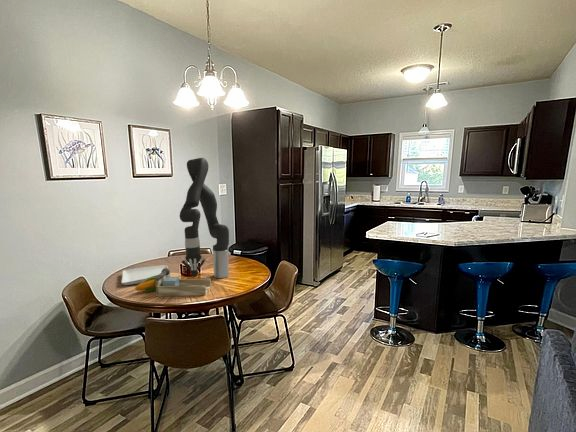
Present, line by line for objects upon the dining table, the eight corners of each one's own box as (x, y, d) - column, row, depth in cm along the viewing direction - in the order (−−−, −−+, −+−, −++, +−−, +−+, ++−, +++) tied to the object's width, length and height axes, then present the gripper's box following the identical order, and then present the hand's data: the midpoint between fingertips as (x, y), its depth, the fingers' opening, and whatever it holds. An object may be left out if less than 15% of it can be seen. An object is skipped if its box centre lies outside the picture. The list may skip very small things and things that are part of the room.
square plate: (122, 275, 200) (122, 269, 200) (167, 269, 212) (166, 264, 212) (121, 288, 176) (120, 281, 176) (171, 280, 189) (171, 274, 188)
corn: (171, 272, 178) (138, 282, 162) (172, 285, 178) (139, 296, 162) (164, 271, 182) (130, 280, 166) (165, 284, 183) (132, 294, 167)
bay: (163, 287, 176) (161, 268, 174) (211, 286, 176) (210, 267, 175) (153, 296, 162) (151, 275, 161) (205, 295, 163) (204, 274, 161)
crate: (167, 287, 172) (166, 276, 171) (179, 287, 172) (179, 276, 171) (162, 291, 165) (161, 280, 164) (175, 291, 165) (175, 280, 165)
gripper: (206, 243, 169) (208, 273, 172) (182, 244, 169) (184, 274, 171) (203, 246, 162) (205, 278, 165) (178, 247, 162) (180, 279, 164)
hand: (195, 276), depth 168 cm, fingers closed
